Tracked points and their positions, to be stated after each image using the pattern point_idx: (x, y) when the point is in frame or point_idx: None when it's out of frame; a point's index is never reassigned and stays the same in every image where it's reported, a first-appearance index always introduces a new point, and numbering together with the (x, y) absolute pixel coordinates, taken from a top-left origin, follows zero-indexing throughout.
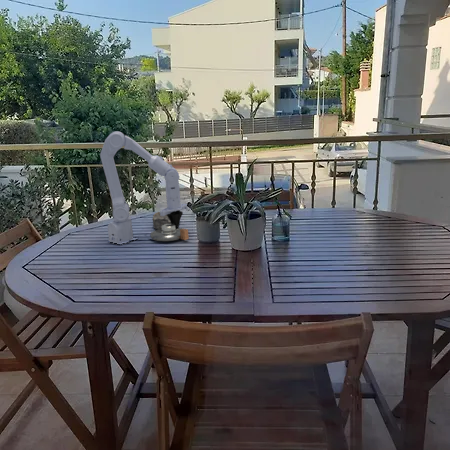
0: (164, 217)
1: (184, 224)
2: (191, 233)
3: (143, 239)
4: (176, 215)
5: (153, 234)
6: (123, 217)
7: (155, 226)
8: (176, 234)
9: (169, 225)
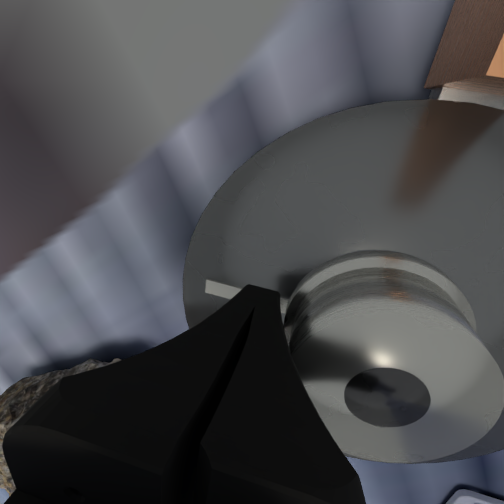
0: None
1: (31, 331)
2: (162, 161)
3: None
4: (304, 467)
5: None
6: None
7: None
8: (430, 210)
9: (384, 386)
